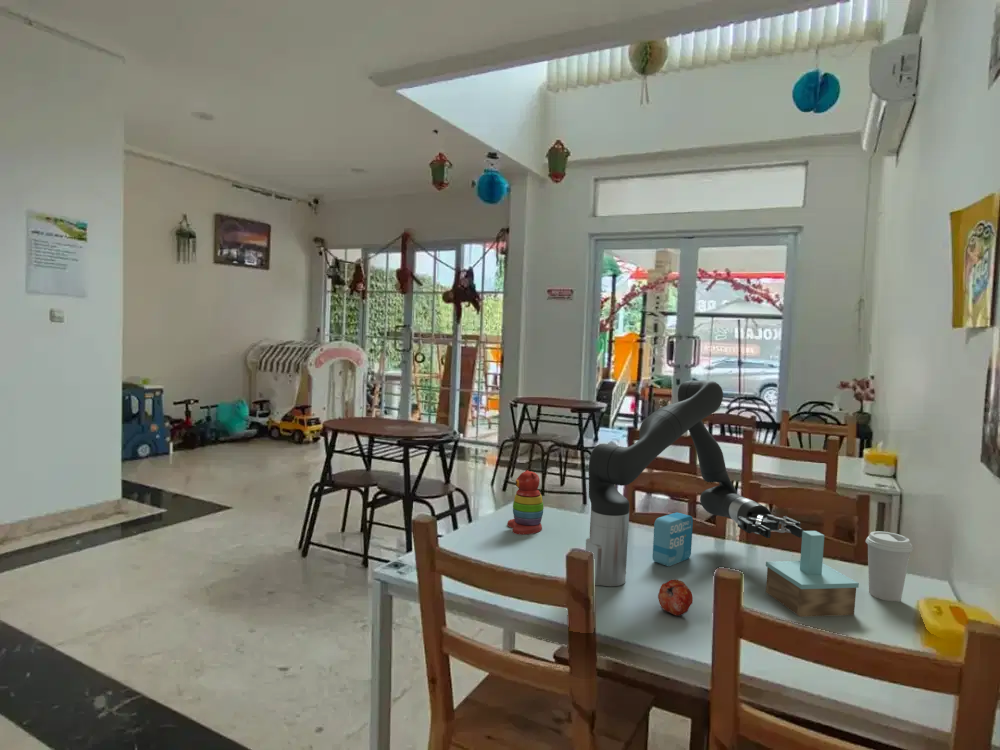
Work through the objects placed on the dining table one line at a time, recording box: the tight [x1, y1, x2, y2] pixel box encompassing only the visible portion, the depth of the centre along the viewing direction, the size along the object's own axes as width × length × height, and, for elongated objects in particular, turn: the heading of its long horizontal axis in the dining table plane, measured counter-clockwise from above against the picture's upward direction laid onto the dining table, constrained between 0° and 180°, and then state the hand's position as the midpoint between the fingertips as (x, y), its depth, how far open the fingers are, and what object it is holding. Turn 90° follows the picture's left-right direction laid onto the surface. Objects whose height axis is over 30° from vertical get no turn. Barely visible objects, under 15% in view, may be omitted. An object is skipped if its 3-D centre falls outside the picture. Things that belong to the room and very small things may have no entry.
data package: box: [652, 512, 694, 567], centre depth 171 cm, size 12×4×12 cm, turn 132°
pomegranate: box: [657, 578, 694, 617], centre depth 139 cm, size 7×7×10 cm
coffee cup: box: [865, 530, 914, 603], centre depth 150 cm, size 10×10×15 cm
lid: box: [765, 530, 860, 589], centre depth 144 cm, size 14×14×11 cm
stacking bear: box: [506, 469, 545, 536], centre depth 193 cm, size 11×10×18 cm
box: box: [765, 566, 857, 618], centre depth 144 cm, size 13×13×7 cm
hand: (785, 533), depth 153 cm, fingers open, 8 cm apart
